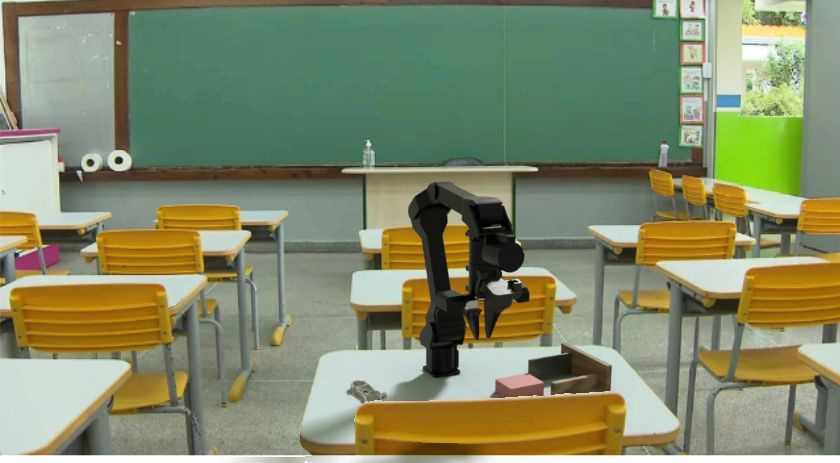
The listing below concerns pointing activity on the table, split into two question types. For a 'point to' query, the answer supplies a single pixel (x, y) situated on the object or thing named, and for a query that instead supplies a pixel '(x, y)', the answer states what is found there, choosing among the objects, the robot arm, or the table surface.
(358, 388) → the bracket
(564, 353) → the shelf
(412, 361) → the table surface
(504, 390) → the block
